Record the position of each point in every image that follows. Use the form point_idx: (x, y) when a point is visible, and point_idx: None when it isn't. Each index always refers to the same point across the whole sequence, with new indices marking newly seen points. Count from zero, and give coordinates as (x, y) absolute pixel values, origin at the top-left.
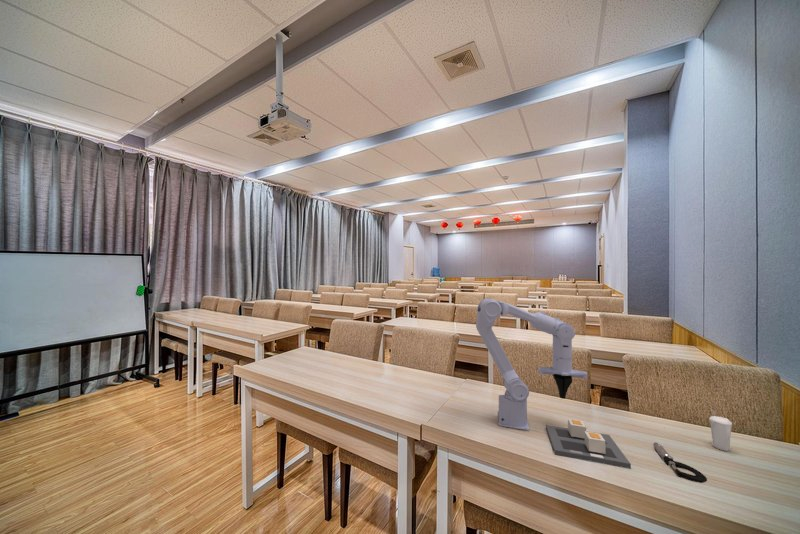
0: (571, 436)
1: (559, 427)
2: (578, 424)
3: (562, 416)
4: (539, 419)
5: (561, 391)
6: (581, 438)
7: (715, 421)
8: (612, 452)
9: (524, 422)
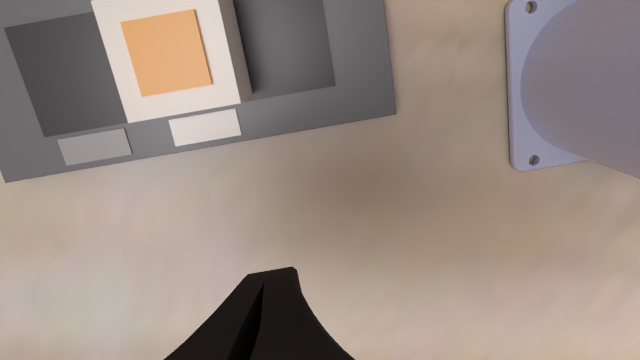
0: None
1: (307, 120)
2: (152, 18)
3: None
4: (425, 222)
5: (281, 303)
6: None
7: None
8: None
9: (557, 30)
